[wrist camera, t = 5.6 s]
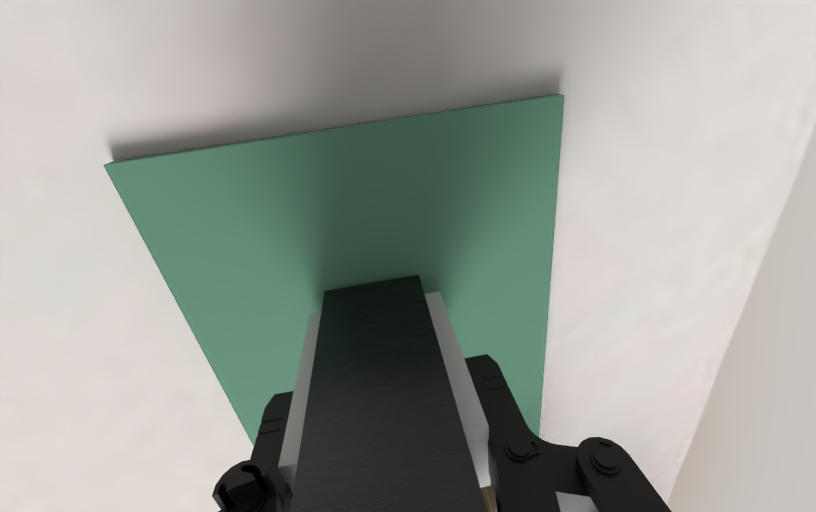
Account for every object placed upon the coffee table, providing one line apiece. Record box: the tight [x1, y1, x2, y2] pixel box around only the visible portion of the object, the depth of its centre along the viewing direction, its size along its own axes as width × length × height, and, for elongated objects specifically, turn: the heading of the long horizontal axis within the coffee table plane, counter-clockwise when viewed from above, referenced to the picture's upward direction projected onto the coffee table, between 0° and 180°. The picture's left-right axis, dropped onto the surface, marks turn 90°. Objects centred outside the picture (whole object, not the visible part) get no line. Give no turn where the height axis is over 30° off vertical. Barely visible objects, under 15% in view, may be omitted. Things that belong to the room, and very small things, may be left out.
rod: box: [290, 275, 487, 512], centre depth 14 cm, size 16×6×10 cm, turn 7°
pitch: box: [104, 94, 564, 491], centre depth 20 cm, size 32×16×1 cm, turn 7°
